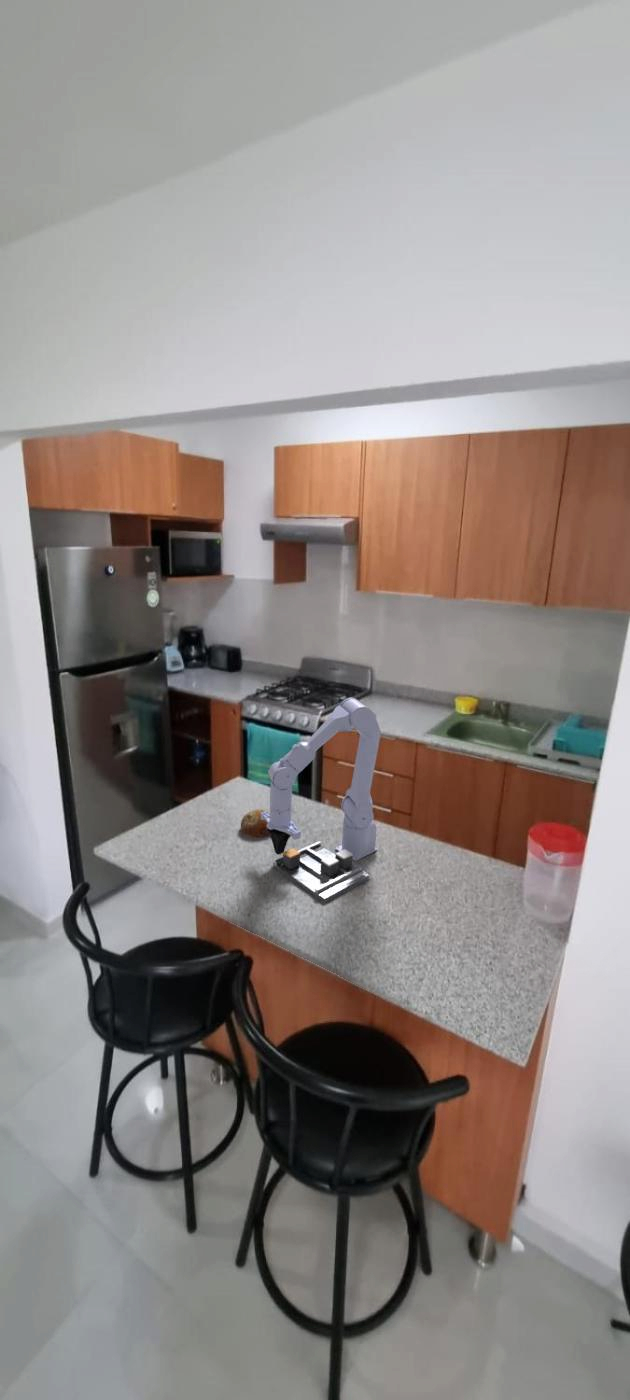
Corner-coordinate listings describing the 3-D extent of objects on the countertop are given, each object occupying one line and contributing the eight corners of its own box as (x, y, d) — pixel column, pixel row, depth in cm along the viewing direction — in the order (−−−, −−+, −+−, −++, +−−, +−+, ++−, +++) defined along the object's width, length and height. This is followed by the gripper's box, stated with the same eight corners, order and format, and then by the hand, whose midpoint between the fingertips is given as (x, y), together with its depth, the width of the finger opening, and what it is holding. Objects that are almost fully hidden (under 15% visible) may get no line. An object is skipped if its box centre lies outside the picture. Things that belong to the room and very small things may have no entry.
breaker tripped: (292, 859, 150) (293, 848, 149) (299, 864, 148) (300, 852, 147) (282, 864, 148) (283, 852, 147) (290, 869, 146) (290, 857, 145)
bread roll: (261, 830, 175) (253, 806, 175) (284, 827, 169) (276, 802, 169) (239, 843, 167) (231, 818, 167) (263, 840, 161) (254, 814, 161)
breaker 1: (329, 867, 147) (330, 855, 146) (337, 872, 145) (338, 860, 144) (320, 872, 145) (321, 860, 144) (328, 877, 143) (329, 865, 142)
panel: (317, 847, 160) (317, 840, 159) (369, 879, 146) (369, 871, 145) (273, 866, 149) (273, 859, 149) (324, 902, 135) (324, 895, 134)
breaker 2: (344, 861, 151) (344, 849, 150) (352, 865, 148) (352, 853, 148) (335, 865, 148) (335, 853, 147) (343, 870, 146) (343, 858, 145)
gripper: (252, 801, 150) (251, 846, 154) (286, 821, 140) (284, 869, 143) (272, 794, 155) (271, 838, 158) (307, 813, 144) (305, 860, 148)
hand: (279, 852), depth 151 cm, fingers closed
